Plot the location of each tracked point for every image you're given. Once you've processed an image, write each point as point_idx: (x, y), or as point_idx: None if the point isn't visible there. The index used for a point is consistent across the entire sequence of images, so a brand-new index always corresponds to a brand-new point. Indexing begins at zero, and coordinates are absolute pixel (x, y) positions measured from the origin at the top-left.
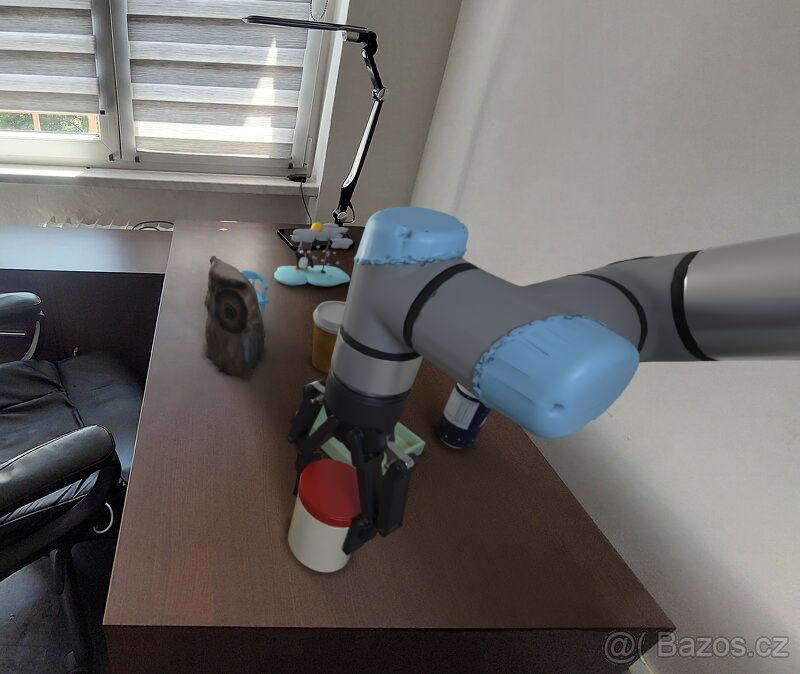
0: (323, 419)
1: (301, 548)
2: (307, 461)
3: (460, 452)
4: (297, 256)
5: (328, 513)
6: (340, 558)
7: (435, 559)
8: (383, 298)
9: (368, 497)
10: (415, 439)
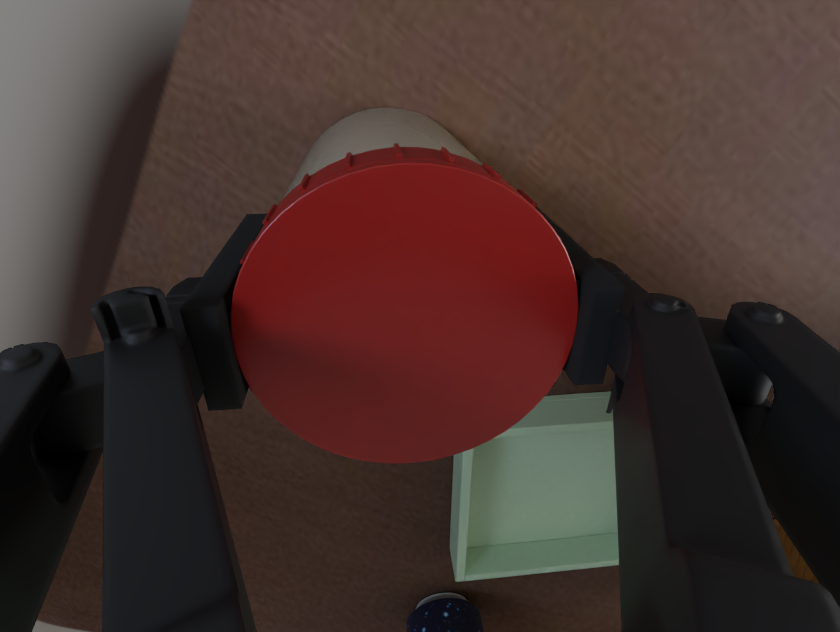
0: None
1: (372, 116)
2: (594, 312)
3: (410, 599)
4: None
5: (297, 207)
6: None
7: (230, 416)
8: None
9: (108, 452)
10: (475, 571)
